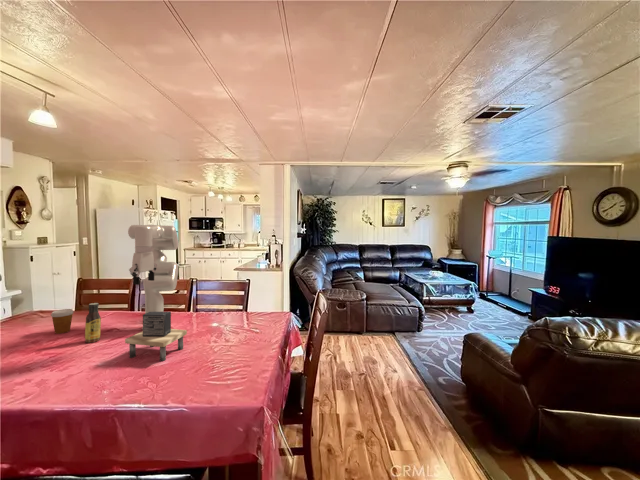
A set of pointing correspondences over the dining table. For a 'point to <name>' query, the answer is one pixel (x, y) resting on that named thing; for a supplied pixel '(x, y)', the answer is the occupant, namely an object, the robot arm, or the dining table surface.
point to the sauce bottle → (93, 324)
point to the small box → (156, 324)
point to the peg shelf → (156, 342)
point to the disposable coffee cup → (62, 320)
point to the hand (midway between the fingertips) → (144, 282)
